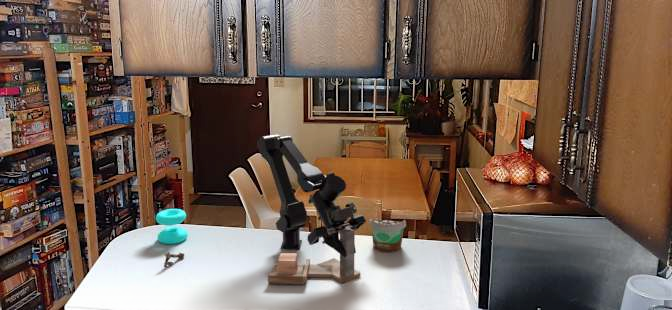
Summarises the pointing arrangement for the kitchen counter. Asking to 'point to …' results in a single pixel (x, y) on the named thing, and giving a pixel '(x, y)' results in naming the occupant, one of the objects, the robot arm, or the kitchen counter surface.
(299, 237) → the robot arm
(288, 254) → the block
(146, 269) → the kitchen counter surface
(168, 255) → the dark triangular frame
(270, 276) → the pull board
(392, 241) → the food container
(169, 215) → the donuts
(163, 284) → the kitchen counter surface
